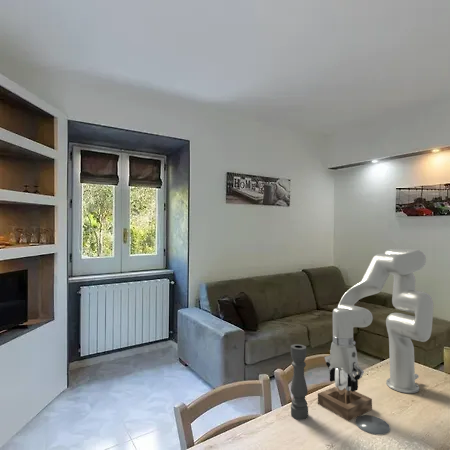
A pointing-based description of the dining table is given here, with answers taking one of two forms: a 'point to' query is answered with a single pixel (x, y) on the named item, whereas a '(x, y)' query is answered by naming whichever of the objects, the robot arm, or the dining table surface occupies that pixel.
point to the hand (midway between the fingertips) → (343, 385)
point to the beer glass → (343, 386)
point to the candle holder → (299, 383)
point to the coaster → (372, 424)
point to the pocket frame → (345, 411)
